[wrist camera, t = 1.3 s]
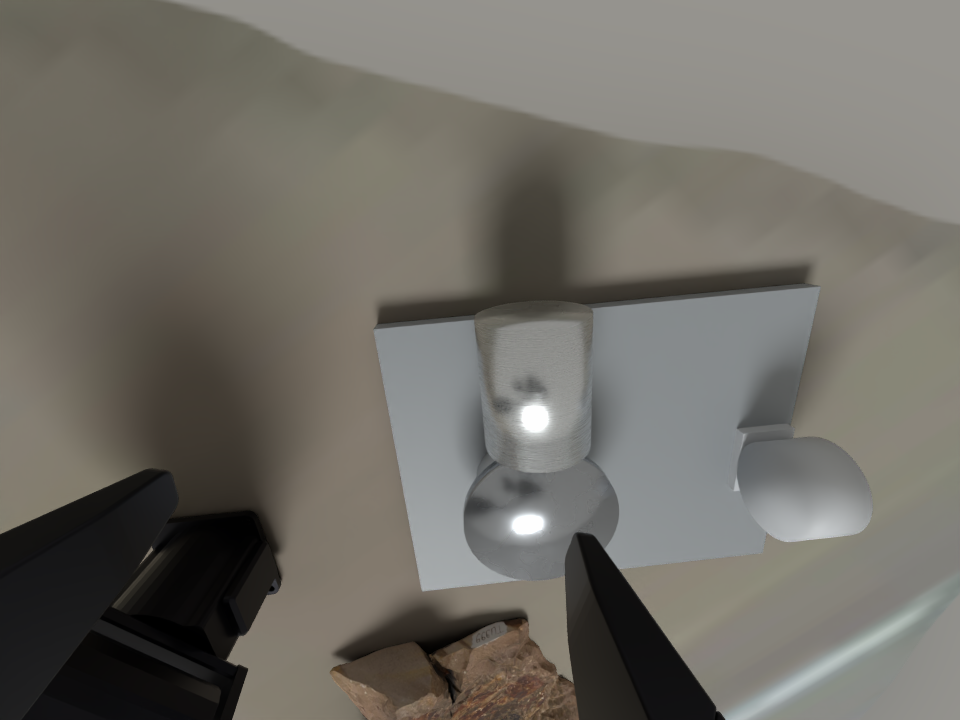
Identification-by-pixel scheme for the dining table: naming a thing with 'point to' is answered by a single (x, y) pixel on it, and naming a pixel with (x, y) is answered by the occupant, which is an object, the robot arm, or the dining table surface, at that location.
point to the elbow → (536, 441)
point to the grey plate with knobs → (639, 431)
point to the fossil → (461, 680)
